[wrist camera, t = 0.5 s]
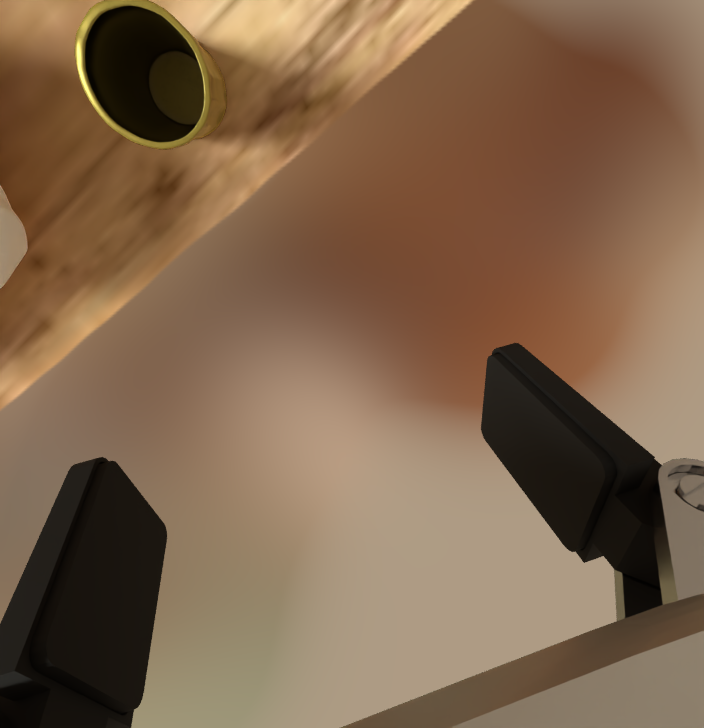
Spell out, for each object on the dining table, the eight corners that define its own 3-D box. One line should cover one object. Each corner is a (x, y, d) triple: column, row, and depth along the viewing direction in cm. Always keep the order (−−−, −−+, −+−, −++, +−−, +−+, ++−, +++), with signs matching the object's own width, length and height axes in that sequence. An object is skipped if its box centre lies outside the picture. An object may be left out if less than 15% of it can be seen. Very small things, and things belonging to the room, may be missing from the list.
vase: (205, 24, 26) (182, -39, 15) (239, 127, 30) (243, 141, 18) (116, 46, 25) (20, -1, 14) (162, 148, 29) (116, 176, 18)
